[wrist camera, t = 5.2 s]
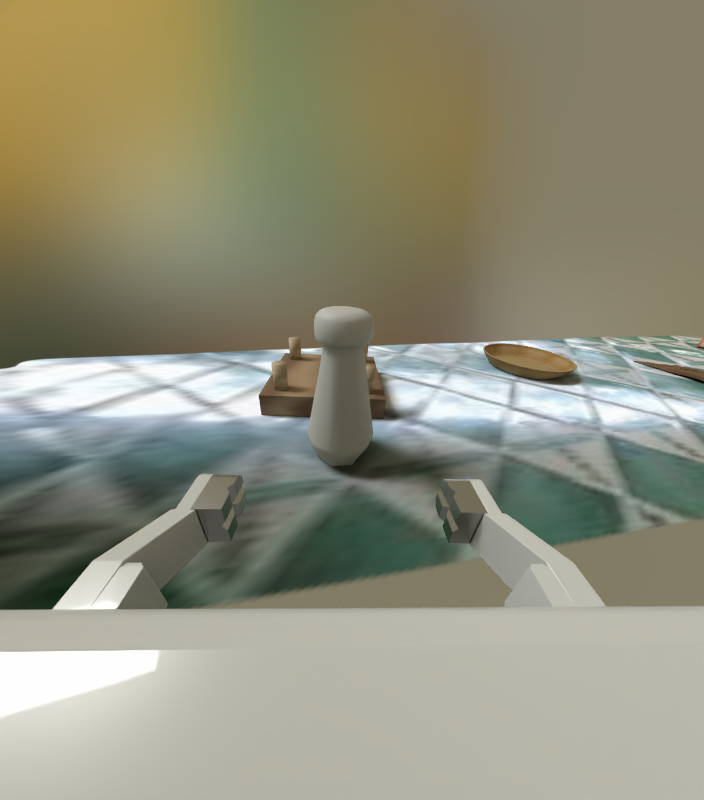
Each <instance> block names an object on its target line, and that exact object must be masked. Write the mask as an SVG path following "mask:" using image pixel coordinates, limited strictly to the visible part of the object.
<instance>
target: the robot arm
mask: <svg viewBox="0 0 704 800" xmlns="http://www.w3.org/2000/svg"><path fill="white" fill-rule="evenodd" d="M242 484H243V479H242V476H240V475H221V474H201V475H199V476H198V477H197V478H196V480H195V481H194V483H193V484H192V485H191V487H190V488H189V490H188V491H187V493H186V494H185V496H184V497H183V499H182V500H181V502H180V503H179V505H178V506H177V508H176V509H171V510H170V511H168V512H166V513H165V514H163V515H162V516H160V517H159V518H157V519H156V520H154V521H153V522H151V523H150V524H148V525H147V526H145V527H144V528H142V529H141V530H139V531H138V532H136V533H134V534H133V535H131V536H130V537H128V538H127V539H125V540H124V541H122V542H121V543H119V544H118V545H116V546H115V547H113V548H112V549H110V550H109V551H107V552H106V553H104V554H103V555H101V556H99V557H98V558H96V559H95V560H93V561H92V562H91V563H90V565H89V566H88V567H87V568H86V569H85V571H84V572H83V573H82V574H81V575H80V577H79V578H78V579H77V580H76V581H75V583H74V584H73V585H72V586H71V587H70V589H69V590H68V591H67V592H66V593H65V595H64V596H63V597H62V598H61V599H60V601H59V602H58V603H57V604H56V605H55V607H54V608H53V609H52V610H0V800H704V606H617V607H616V606H613V607H612V606H611V607H610V606H609V607H606V606H605V604H604V603H603V602H602V600H601V599H600V598H599V596H598V595H597V594H596V592H595V591H594V590H593V588H592V587H591V586H590V584H589V583H588V582H587V580H586V579H585V578H584V576H583V575H582V574H581V572H580V571H579V570H578V569H577V567H576V566H575V564H574V563H572V562H571V561H570V560H569V559H567V558H566V557H564V556H563V555H562V554H560V553H559V552H558V551H556V550H555V549H554V548H552V547H551V546H549V545H548V544H547V543H545V542H544V541H543V540H541V539H540V538H538V537H537V536H536V535H534V534H533V533H532V532H530V531H529V530H527V529H526V528H525V527H523V526H522V525H521V524H519V523H518V522H516V521H515V520H514V519H512V518H511V517H510V516H508V515H507V514H502V513H501V511H500V509H499V508H498V506H497V505H496V503H495V501H494V500H493V498H492V497H491V495H490V493H489V492H488V490H487V489H486V487H485V485H484V484H483V482H482V481H481V480H479V479H467V480H466V479H443V480H442V481H441V483H440V487H441V491H439V492H438V493H437V496H436V509H437V513H438V515H439V517H440V518H441V519H442V520H443V521H444V524H443V529H444V532H445V535H446V537H447V540H448V543H467V544H470V545H471V547H472V548H473V549H474V550H475V551H476V552H477V553H478V554H479V555H480V556H481V557H482V558H483V559H484V561H485V562H486V563H487V564H488V565H489V566H490V567H491V568H492V569H493V570H494V571H495V572H496V573H497V574H498V576H499V577H500V578H501V579H502V580H503V581H504V582H505V583H506V584H507V585H508V586H509V587H510V588H511V590H512V592H511V593H510V594H509V596H508V597H507V598H506V600H505V602H504V605H505V607H428V608H427V607H426V608H425V607H424V608H421V607H420V608H419V607H417V608H254V609H253V608H248V609H247V608H245V609H166V608H167V606H168V605H167V601H166V600H165V598H164V597H163V595H162V593H161V592H160V589H161V588H162V587H163V586H164V585H165V584H167V583H168V582H169V581H170V580H171V579H172V578H173V577H174V576H175V575H176V574H177V573H178V572H179V571H180V570H181V569H182V568H183V567H184V566H185V565H186V564H187V563H188V562H189V561H190V560H191V559H192V558H193V557H194V556H195V555H196V554H197V553H198V552H199V551H200V550H201V549H202V548H203V547H204V546H205V545H206V544H207V542H220V541H231V540H232V538H233V535H234V533H235V530H236V528H237V525H238V524H237V520H236V519H237V518H238V517H239V516H240V515H242V513H243V510H244V507H245V502H246V492H245V489H243V488H242V487H241V486H242Z"/></svg>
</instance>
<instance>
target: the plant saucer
mask: <svg viewBox="0 0 704 800" xmlns="http://www.w3.org/2000/svg"><path fill="white" fill-rule="evenodd" d="M484 352H485V354H486V356H487V358H488V360H489V361H490V362H491V364H492V365H493V366H495V367H496V368H498V369H500V370H502V371H505V372H507V373H510V374H513V375H517V376H521V377H526V378H532V379H542V380H548V379H554V378H557V377H561V376H563V375H566V374H568V373H570V372H572V371H574V370H575V369H576V368H577V366H576V364H575V363H574V362H572V361H571V360H569V359H567V358H565V357H563V356H560V355H558V354H555V353H552V352H549V351H545V350H541V349H537V348H533V347H528V346H522V345H515V344H501V343H500V344H499V343H498V344H489V345H486V346H485V347H484Z"/></svg>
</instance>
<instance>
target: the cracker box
mask: <svg viewBox="0 0 704 800" xmlns="http://www.w3.org/2000/svg"><path fill="white" fill-rule="evenodd" d="M697 347H700V348H704V337H703V339H702V340H701V341H700V343H699V344H698V346H697Z"/></svg>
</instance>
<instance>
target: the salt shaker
mask: <svg viewBox="0 0 704 800" xmlns="http://www.w3.org/2000/svg"><path fill="white" fill-rule="evenodd" d="M314 329H315V338H316V341H318V342H319V343H321V344H323V349H322V355H321V362H320V368H319V374H318V379H317V385H316V390H315V395H314V401H313V406H312V411H311V417H310V422H309V427H308V432H309V441H310V443H311V445H312V447H313V449H314V450H315V452H316V454H317V456H318V457H319V458H321V459H322V460H323V461H325V462H326V463H328V464H329V465H330V466H332V467H334V466H345V465H353V463H354V462H355V461H356V459H357V458H358V457H359V456H360V455H361V454H362V453H363V452H364V450H365V449H366V448H367V447H368V445H369V443H370V440H371V438H372V435H373V428H372V418H371V409H370V399H369V390H368V380H367V371H366V362H365V352H364V346H365V345H368V343H369V342H370V341H371V339H372V337H373V331H374V321H373V318H372V316H371V315H370V314H369V313H368V312H367V311H365V310H362V309H359V308H355V307H347V306H333V307H327V308H323V309H321V310H319V312H318V313H317V314H316V315H315V321H314Z"/></svg>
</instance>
